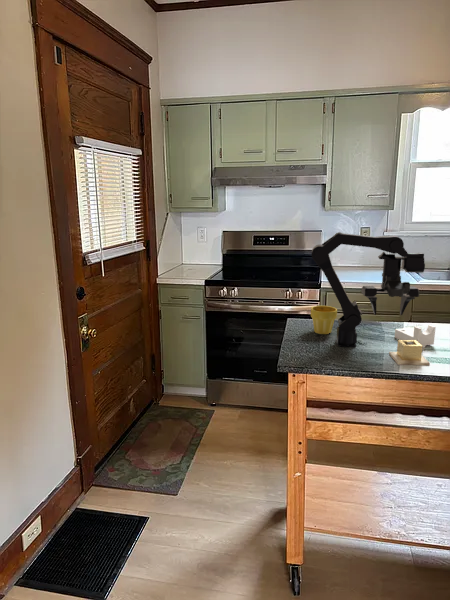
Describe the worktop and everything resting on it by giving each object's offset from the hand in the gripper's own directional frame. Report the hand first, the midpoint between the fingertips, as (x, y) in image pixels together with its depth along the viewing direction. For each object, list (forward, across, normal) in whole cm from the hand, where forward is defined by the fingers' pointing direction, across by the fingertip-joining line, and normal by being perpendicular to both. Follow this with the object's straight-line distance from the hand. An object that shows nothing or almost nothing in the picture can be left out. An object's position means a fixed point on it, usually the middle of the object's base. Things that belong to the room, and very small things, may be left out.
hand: (388, 314), depth 161 cm
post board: (+12, +4, -13) cm, 18 cm away
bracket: (+12, +12, +6) cm, 19 cm away
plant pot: (+12, -20, +17) cm, 29 cm away
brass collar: (+11, +4, -13) cm, 18 cm away
